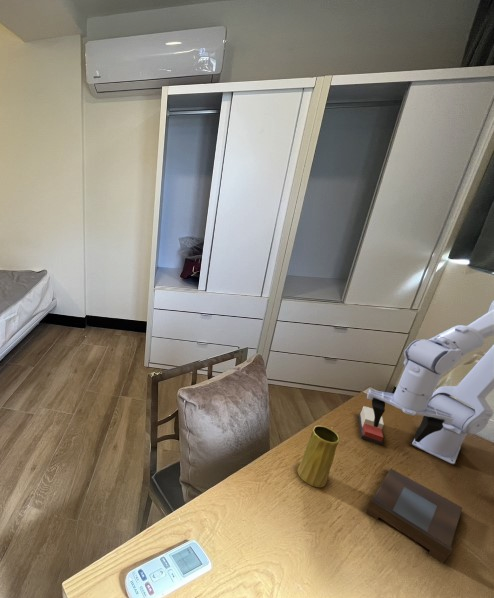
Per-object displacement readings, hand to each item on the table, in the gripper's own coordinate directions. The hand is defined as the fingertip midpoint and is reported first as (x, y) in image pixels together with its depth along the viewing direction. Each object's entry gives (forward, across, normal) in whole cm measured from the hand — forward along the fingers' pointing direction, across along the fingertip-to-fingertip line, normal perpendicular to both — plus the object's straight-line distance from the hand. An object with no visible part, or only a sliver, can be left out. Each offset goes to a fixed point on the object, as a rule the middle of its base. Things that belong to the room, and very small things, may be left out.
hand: (395, 431), depth 77 cm
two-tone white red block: (+10, -3, +10) cm, 14 cm away
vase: (+10, -14, -18) cm, 24 cm away
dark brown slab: (+10, +5, -14) cm, 18 cm away
